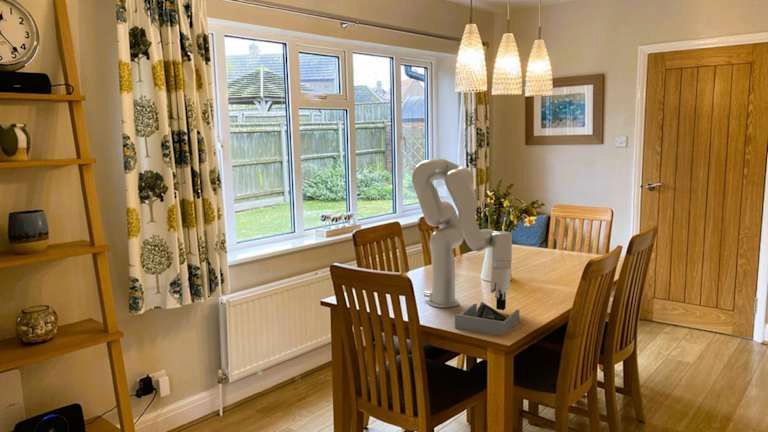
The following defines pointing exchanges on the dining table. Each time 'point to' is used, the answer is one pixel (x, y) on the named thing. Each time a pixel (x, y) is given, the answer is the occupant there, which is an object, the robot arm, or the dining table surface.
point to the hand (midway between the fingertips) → (500, 309)
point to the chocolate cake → (489, 313)
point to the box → (484, 322)
